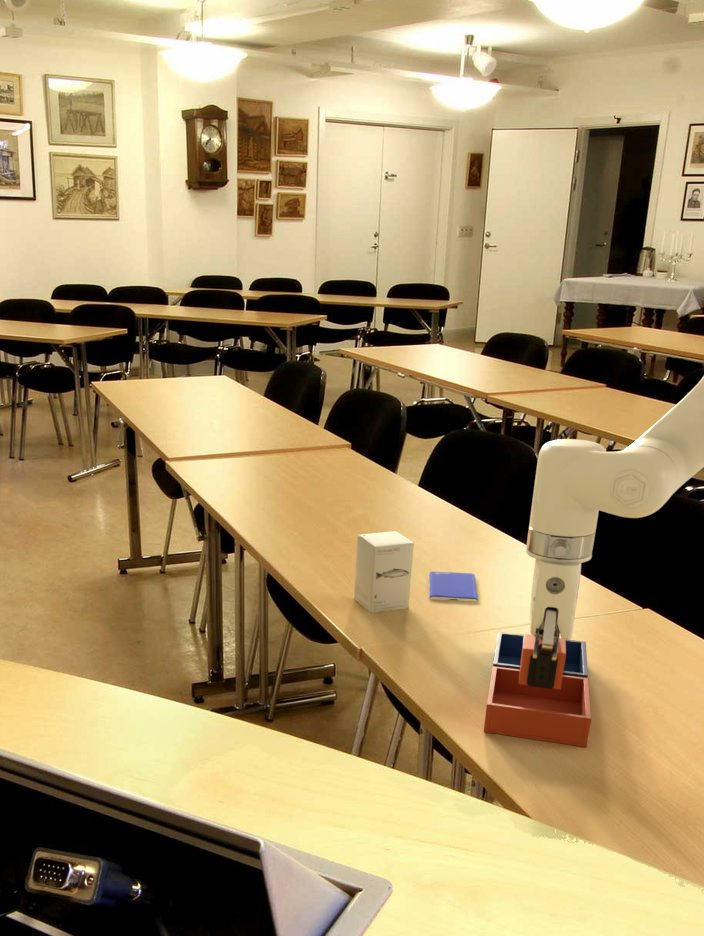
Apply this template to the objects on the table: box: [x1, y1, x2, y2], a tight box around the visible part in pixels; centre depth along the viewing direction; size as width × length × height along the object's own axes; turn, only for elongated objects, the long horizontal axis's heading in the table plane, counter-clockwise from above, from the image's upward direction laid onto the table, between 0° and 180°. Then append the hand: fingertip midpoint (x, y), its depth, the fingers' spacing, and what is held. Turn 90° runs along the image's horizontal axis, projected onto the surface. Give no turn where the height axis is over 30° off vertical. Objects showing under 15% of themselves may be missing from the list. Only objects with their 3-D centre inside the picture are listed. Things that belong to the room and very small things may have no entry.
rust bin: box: [483, 665, 592, 748], centre depth 119 cm, size 12×12×4 cm
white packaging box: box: [353, 530, 415, 614], centre depth 156 cm, size 7×7×13 cm
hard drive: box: [428, 571, 479, 603], centre depth 164 cm, size 2×8×12 cm
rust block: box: [519, 633, 566, 689], centre depth 117 cm, size 5×5×5 cm
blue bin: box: [492, 631, 589, 679], centre depth 131 cm, size 12×12×4 cm
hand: (540, 675), depth 118 cm, fingers closed on rust block, 5 cm apart
